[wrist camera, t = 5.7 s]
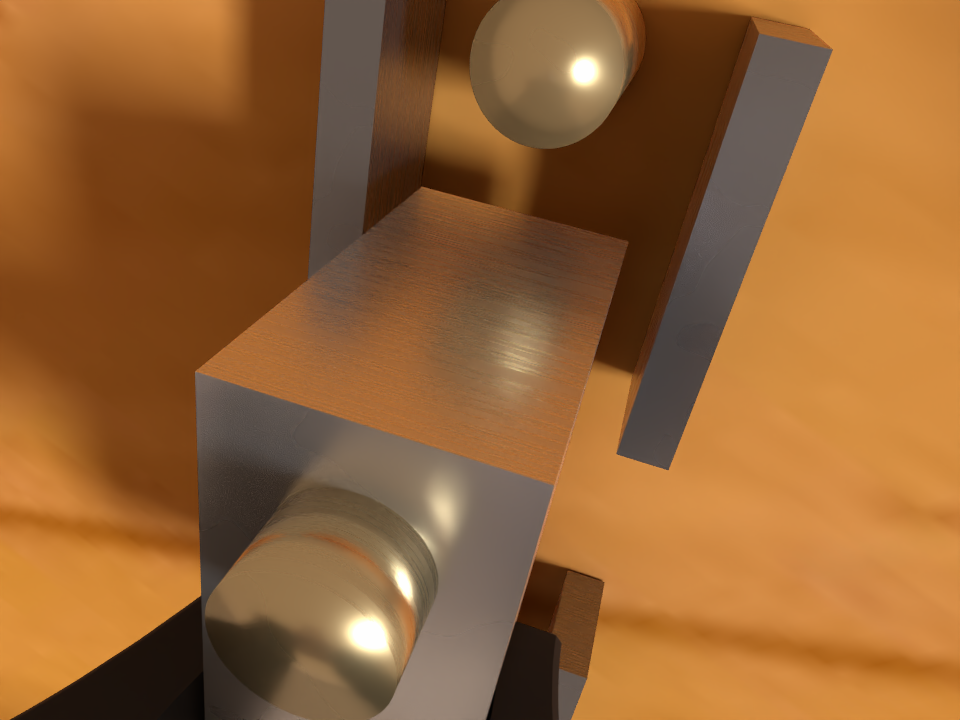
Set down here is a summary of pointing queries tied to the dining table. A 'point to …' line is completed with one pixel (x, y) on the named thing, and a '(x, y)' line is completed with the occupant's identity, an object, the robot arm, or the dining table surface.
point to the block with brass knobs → (392, 463)
